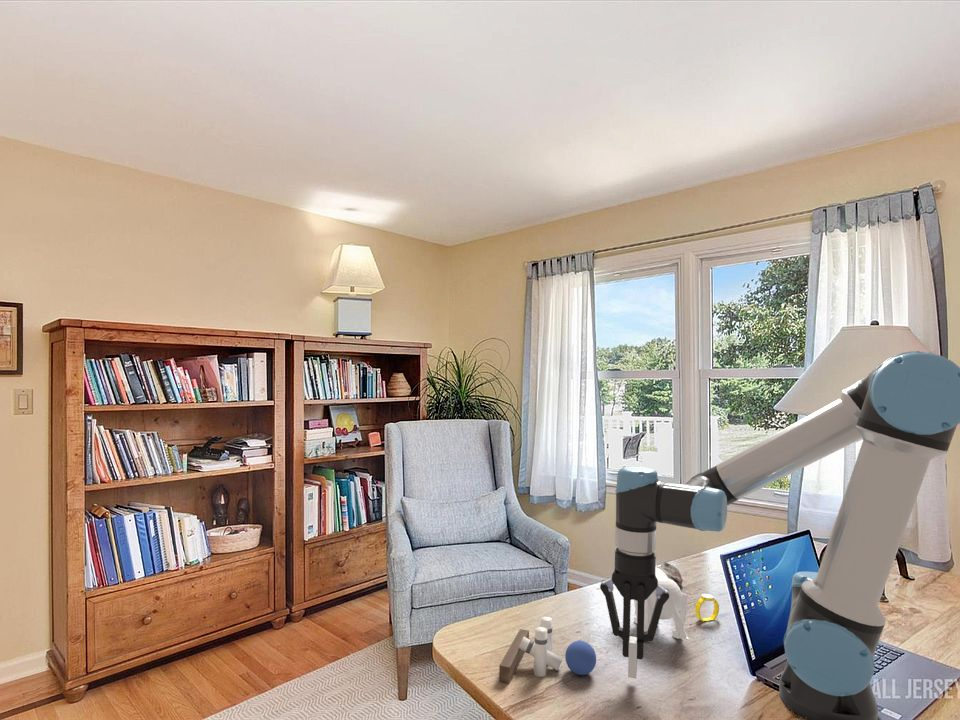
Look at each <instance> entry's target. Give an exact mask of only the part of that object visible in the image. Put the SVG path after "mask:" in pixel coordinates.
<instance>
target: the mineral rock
mask: <svg viewBox="0 0 960 720" xmlns="http://www.w3.org/2000/svg"><path fill="white" fill-rule="evenodd" d="M657 568H658V569H660V570H662V571H663V572H664V573H665V574H666V575H667V577H668V578H669V579H671V580H673V581H674V582H676V584H677V585H678V586H679V588H680V589H681V588H682V584H683V582H684V580H683V578H682V574H681V572H680V570H679V569H678V568H677V567H676V566H675V565H673V564H671V563H669V562H662V564H660V566H657Z"/></svg>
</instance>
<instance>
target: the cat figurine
mask: <svg viewBox="0 0 960 720" xmlns="http://www.w3.org/2000/svg"><path fill="white" fill-rule="evenodd" d="M657 567H658V565H657V562H656V569H655V575H656V578H657V580H658V584H659V585H660V586H662V587H663V588H667V589H668V590H669V599H668V600H667V601H666V602H665V604H664V605H663V608H662V612H661V615H660V619H659V620H662V621H663V620H665V621H666V620H670V619H673V621H674V626H675V627H674V628H675V630H673V631H672V632H671V633H672V634H671V636H672V637H673V638H675V639H678V640H679V639H684V640H686V641H688V640H689V639H690V638H689V636H688V634H687V632H686V630H685V622H686V617H687V609H688V607H687V606H688V594H686V593H684V592H682V590H681V587H680V588H679V586H678V585H677V584H676V582H674V581H673V580H671V579H669V578H668V577H667V575H666V574H665V573H664V572H663V571H662V570H660V569H658V568H657ZM656 600H657V598H656V590H654V591H653V593H652V594H651V595H650V596H649V597H648V598H647V599H646V600H645V607H644V632H646V631H648V628H649V624H650V621H651V617H652V613H653V610H654V606H655V603H656ZM633 603H634V609H635V610H634V615H635V617H634V618H633V622H634V624H637V601H636V600H633ZM658 625H660V621H659V622H658Z"/></svg>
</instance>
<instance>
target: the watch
mask: <svg viewBox="0 0 960 720" xmlns="http://www.w3.org/2000/svg"><path fill="white" fill-rule="evenodd" d="M700 596H701V597H700V598H699V599H698V600H697V602H696V603H695V607H694V613H695V616H696V618H697V619H698V620H700V621H701V622H703V623H705V622H704V621H707V622H710V621H709V620H714V621H715V620H716V619H717V617H718V615H719V612H720V605H719V602H718V601H717V599H715V596H714V595H712V594H708V593H701V595H700ZM704 602H712V603H713V606H714V609H713V612H712V614H711V615H710V616H709V617H703V618H702V616H701V607H702V605H703V603H704Z"/></svg>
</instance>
